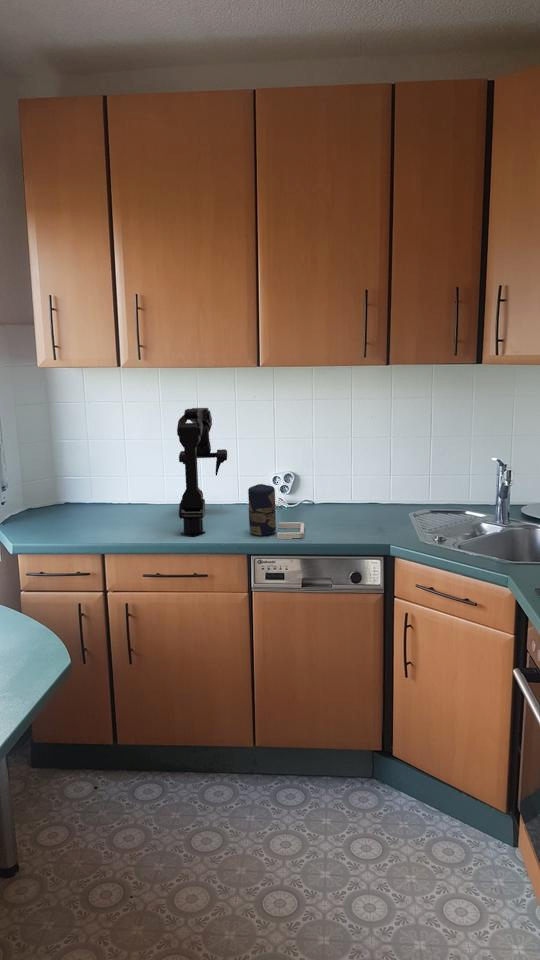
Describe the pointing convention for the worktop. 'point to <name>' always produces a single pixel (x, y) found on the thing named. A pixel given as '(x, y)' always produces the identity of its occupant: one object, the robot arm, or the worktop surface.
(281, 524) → the block
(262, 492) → the canister
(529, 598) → the worktop surface
